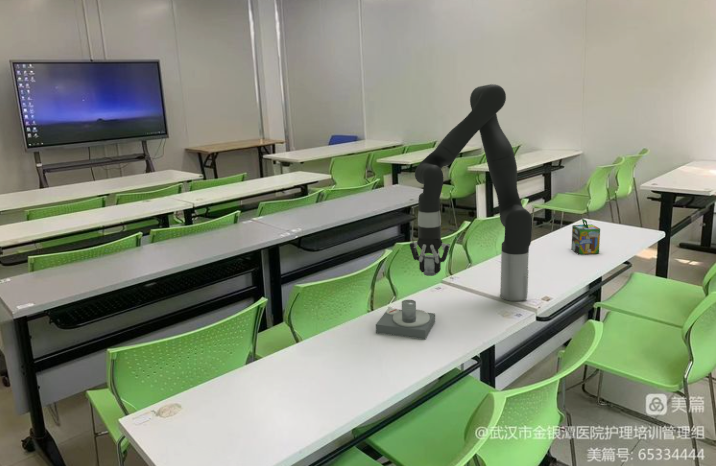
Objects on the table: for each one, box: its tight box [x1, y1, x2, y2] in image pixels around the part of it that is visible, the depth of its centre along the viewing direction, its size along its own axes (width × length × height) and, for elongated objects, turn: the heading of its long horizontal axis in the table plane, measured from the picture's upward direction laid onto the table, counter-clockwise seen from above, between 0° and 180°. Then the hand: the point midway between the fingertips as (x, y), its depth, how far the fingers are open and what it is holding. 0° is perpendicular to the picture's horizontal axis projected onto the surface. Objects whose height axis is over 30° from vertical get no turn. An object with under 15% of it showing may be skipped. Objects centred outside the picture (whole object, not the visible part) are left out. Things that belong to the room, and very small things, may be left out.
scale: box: [375, 307, 436, 340], centre depth 170 cm, size 16×13×4 cm
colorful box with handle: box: [570, 218, 601, 255], centre depth 235 cm, size 9×9×15 cm
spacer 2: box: [423, 254, 437, 277], centre depth 180 cm, size 4×4×6 cm
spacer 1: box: [401, 299, 417, 323], centre depth 165 cm, size 4×4×6 cm
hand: (429, 272), depth 181 cm, fingers closed on spacer 2, 4 cm apart
